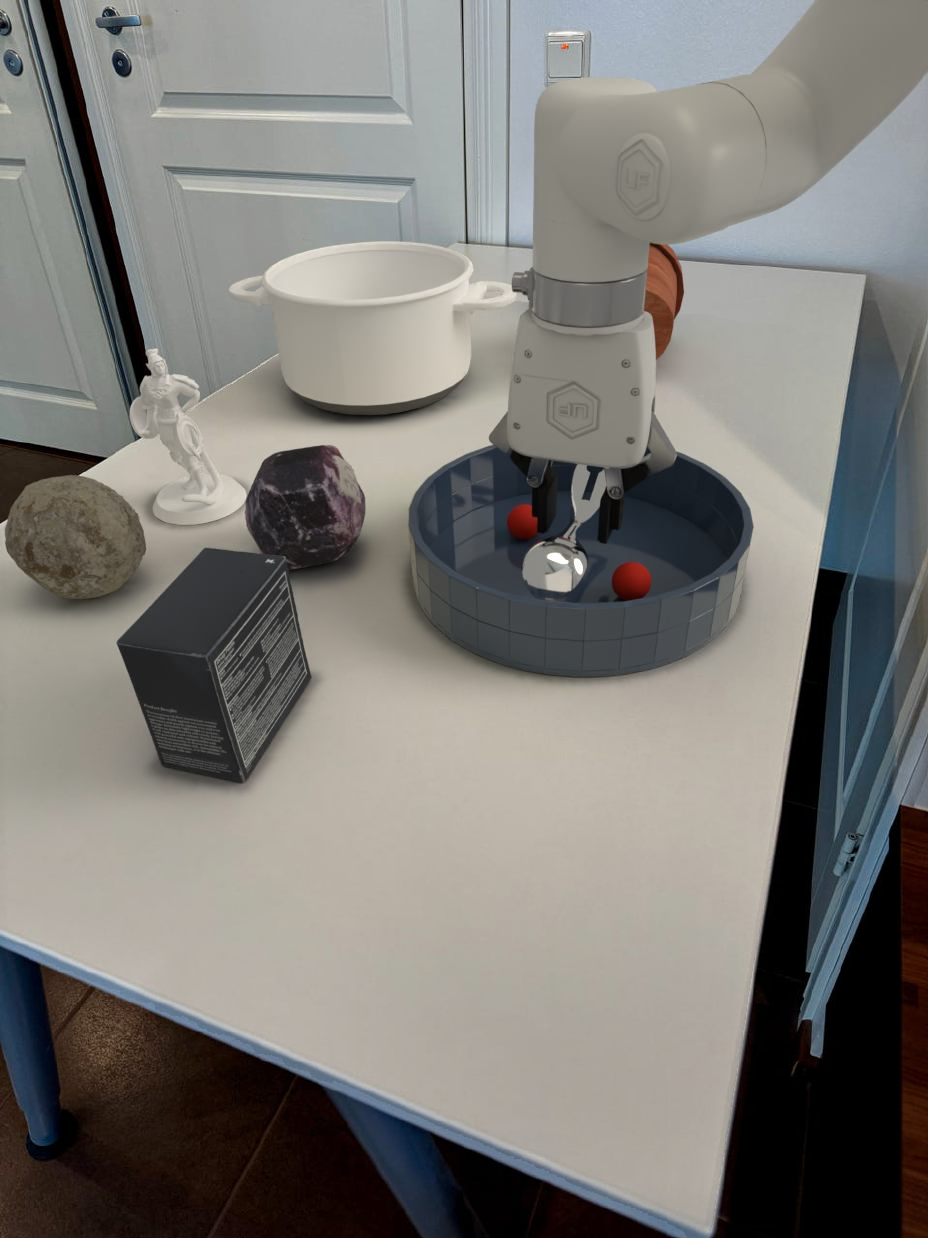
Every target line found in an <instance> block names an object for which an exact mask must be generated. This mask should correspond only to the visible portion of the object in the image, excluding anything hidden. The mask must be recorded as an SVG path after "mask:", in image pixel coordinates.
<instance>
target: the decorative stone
mask: <svg viewBox="0 0 928 1238" xmlns="http://www.w3.org/2000/svg"><path fill="white" fill-rule="evenodd" d="M140 521H141V520H140V517H139V513H138V512H136V509H134V508H133V506H132V505H131V504H130V503H129V502H128V501H127V500H126V499H125V498H124V496H123V495H121V494H120V493H118V492H117V490H115V489H113V488H112V487H110V486H108V485H106V484H104V483H103V482H101V481H98V480H96V479H94V478H91V477H87V476H82V475H77V474H73V475H72V474H69V475H62V476H52V477H48V478H44V479H43V478H42V479H39V480H38V481H33V482H31V483H29V484H28V485H25V486H24V489H23V490H22V492H21V493H20V494H19V496H18V497H17V498H16V500H15V501H14V503H12V505H11V506H10V510H9V514H8V516H7V519H6V524H5V527H4V538H5V542H4V545H5V549H6V553H8V555H9V557H10V558H11V560H13V561H14V563H15V565H16V566H17V567H18V568H19V569H20V570H21V571H22V572H23V573H24V574H25V575H26V576H28V577H29V578H30V579H32V580H33V581H35V582H36V583H37V584H38V585H39V586H41V587H42V588H43V589H45V590H46V591H49V592H50V593H52V594H54V595H55V596H58V597H61V598H64V599H65V598H66V599H70V600H72V599H73V600H80V599H81V600H85V599H95V598H98V597H99V598H100V597H102V596H107V595H109V594H112V593H115V592H116V591H118V590H119V589H120V588H122V587H123V585H124V584H125V583H126V582H128V581H129V580H130V579H131V578H132V577H133V575H134V574H135V573H136V572H137V570H138V569H139V567H140V565H141V563H142V561H143V559H144V556H145V555H146V552H147V543H146V538H145V531H144V528H143V526H142V524H141V522H140Z"/></svg>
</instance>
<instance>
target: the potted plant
mask: <svg viewBox="0 0 928 1238" xmlns="http://www.w3.org/2000/svg"><path fill="white" fill-rule="evenodd" d="M684 295H685V288H684V276H683V269H682V265H681V263H680V261H679V258H678V257H677V255H676V253H675V251H674V249H673V248H672V247H671V246H670V245H662V244H654V243H650V245H649V256H648V269H647V280H646V291H645V302H644V311H646V312H648V313H650V314H651V316H652V319H653V326H654V335H655V350H656V361H658V359H659V358H660V357H661V356H663V354H664V353H665V351H666V350H667V348H668V347H669V344H670V342H671V340H672V335H673V331H674V326H675V325H674V323H675V319H677V316H678V314H679V313H680V311H681V309H682V304H683V299H684Z"/></svg>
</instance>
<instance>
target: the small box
mask: <svg viewBox="0 0 928 1238" xmlns="http://www.w3.org/2000/svg"><path fill="white" fill-rule="evenodd" d="M298 614H299V613H298V609H297V605H296V601H295V596H294V591H293V585H292V582H291V577H290V571H289V570H288V567H287V562H286V557H285V556H276V555H267V554H263V553H257V552H249V551H241V550H233V549H232V550H231V549H223V548H215V547H214V548H213V547H204V548H203V549H202V550H201V551H200V552H199V553H198V554H197V555H196V556H195V557H194V558H193V559H192V561H190V563H189V564H188V565H187V566H186V567H185V568H184V569H183V570H182V571H181V572H180V574H179V575H177V577H176V578H175V579H174V580H173V581H172V582H171V583H170V584H169V585H168V586H167V588H166V589H164V591H163V592H162V593H161V594H160V595H159V596H158V597H157V598H156V599H155V600H154V601H153V602H152V603H151V605H150V606H149V607H147V609H146V610H145V611H144V612H143V613H142V614H140V616H139V617H137V619H136V620H135V621H134V623H133V624H132V625H131V626H130V627H129V628H128V629H126V631H125V632H124V633H123V634H122V635H121V636H120V637H119V638H118V639H117V640H116V646H117V648H118V650H119V653H120V656H121V659H122V661H123V663H124V667H125V670H126V672H127V674H128V677H129V680H130V683H131V685H132V688H133V690H134V693H135V696H136V698H137V702H138V704H139V706H140V709H141V712H142V713H141V714H142V715H143V718H144V720H145V724H146V726H147V728H148V731H149V734H150V737H151V739H152V742H153V745H154V749H155V750H156V753H157V756H158V759H159V762H160V765H161V766H163V767H165V768H170V769H174V770H180V771H183V772H188V773H193V774H198V775H202V776H203V775H204V776H208V777H212V778H218V779H223V780H227V781H231V782H232V781H233V782H238V783H245V782H246V781H247V779H248V778H249V776H250V775H251V774H252V771H253V770H254V769H255V767H256V766H257V764H258V763H259V761H260V760H261V757H262V756H263V755H264V753H265V751H266V750H267V749H268V747H269V745H270V744H271V742H272V740H273V739H274V738H275V736H276V735H277V733H278V731H279V729H280V728H281V726H282V725H283V723H284V722H285V720H286V719H287V717H288V716H289V714H290V712H291V711H292V709H293V708H294V706H295V704H296V703H297V701H298V700H299V699H300V697H301V695H302V694H303V692H304V690H305V689H306V687H307V686H308V684H309V682H310V680H312V674H311V670H310V666H309V662H308V658H307V654H306V650H305V649H306V648H305V645H304V640H303V636H302V635H303V634H302V630H301V625H300V621H299V615H298Z"/></svg>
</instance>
